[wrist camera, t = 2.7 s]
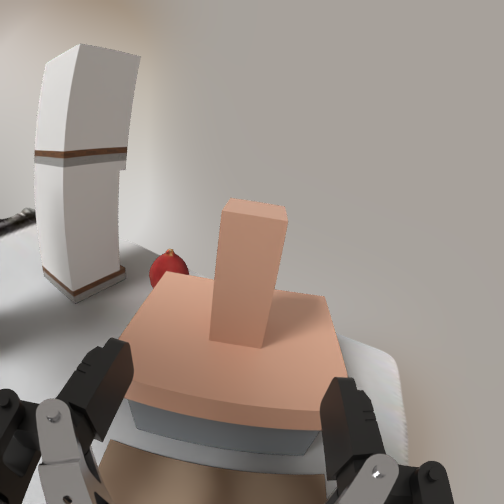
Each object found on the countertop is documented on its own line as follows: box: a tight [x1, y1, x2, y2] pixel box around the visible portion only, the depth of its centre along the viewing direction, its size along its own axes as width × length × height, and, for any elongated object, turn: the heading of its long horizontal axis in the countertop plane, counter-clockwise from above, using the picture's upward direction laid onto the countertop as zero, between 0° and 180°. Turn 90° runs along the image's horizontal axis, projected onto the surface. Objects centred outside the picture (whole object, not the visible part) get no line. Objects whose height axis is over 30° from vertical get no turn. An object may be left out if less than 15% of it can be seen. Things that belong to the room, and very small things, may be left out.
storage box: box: [128, 399, 320, 455], centre depth 24 cm, size 15×13×8 cm
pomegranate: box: [149, 249, 189, 289], centre depth 39 cm, size 6×6×8 cm
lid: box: [118, 198, 348, 430], centre depth 21 cm, size 17×15×12 cm
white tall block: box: [34, 44, 141, 304], centre depth 34 cm, size 11×11×35 cm
